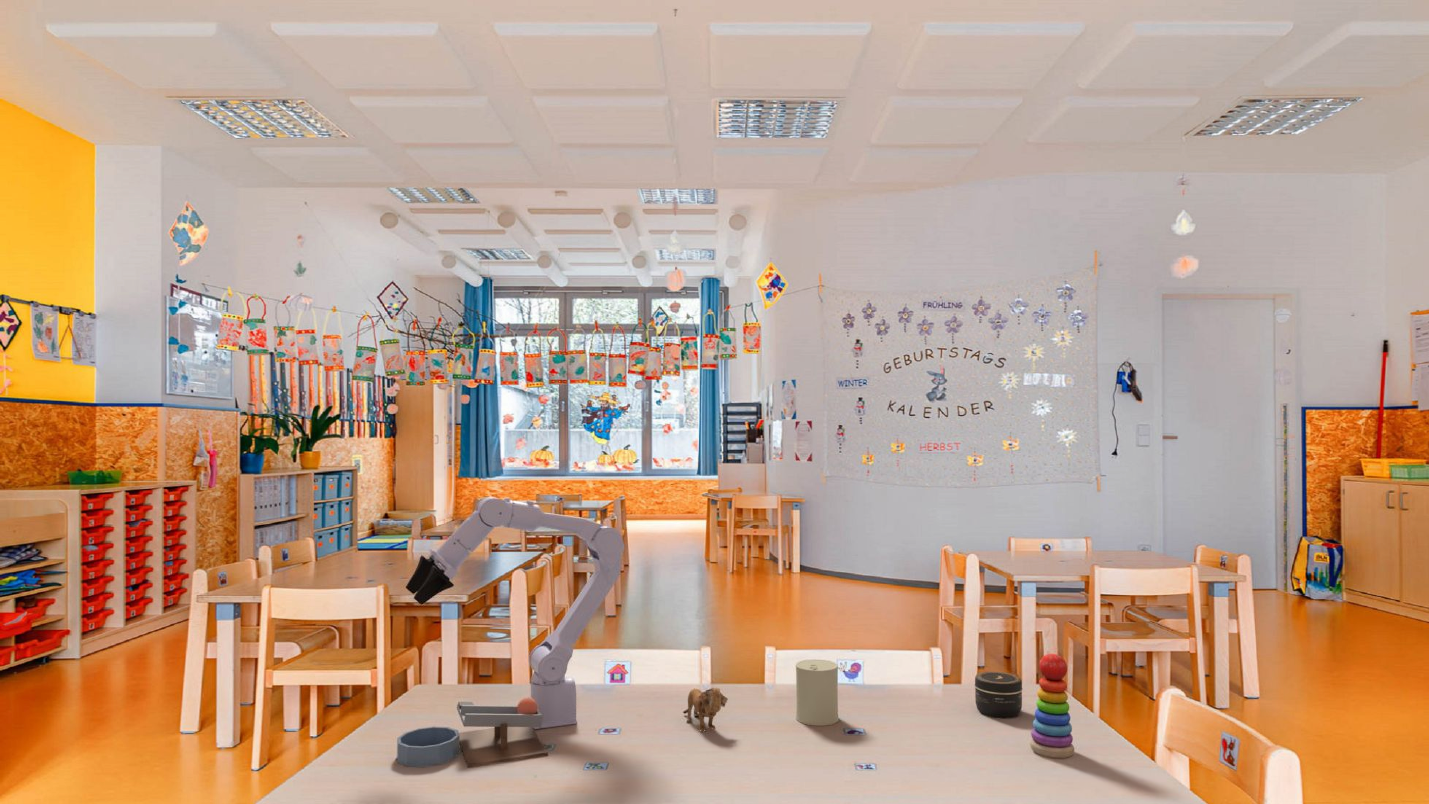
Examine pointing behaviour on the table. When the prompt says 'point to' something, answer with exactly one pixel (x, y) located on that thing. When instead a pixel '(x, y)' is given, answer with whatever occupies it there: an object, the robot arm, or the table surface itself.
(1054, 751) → the stacking toy
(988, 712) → the jar
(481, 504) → the robot arm
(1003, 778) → the table surface
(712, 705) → the lion figurine
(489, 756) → the catapult base
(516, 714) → the lever
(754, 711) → the table surface
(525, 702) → the ball
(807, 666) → the can
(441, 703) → the table surface
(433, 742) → the bowl
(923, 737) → the table surface
